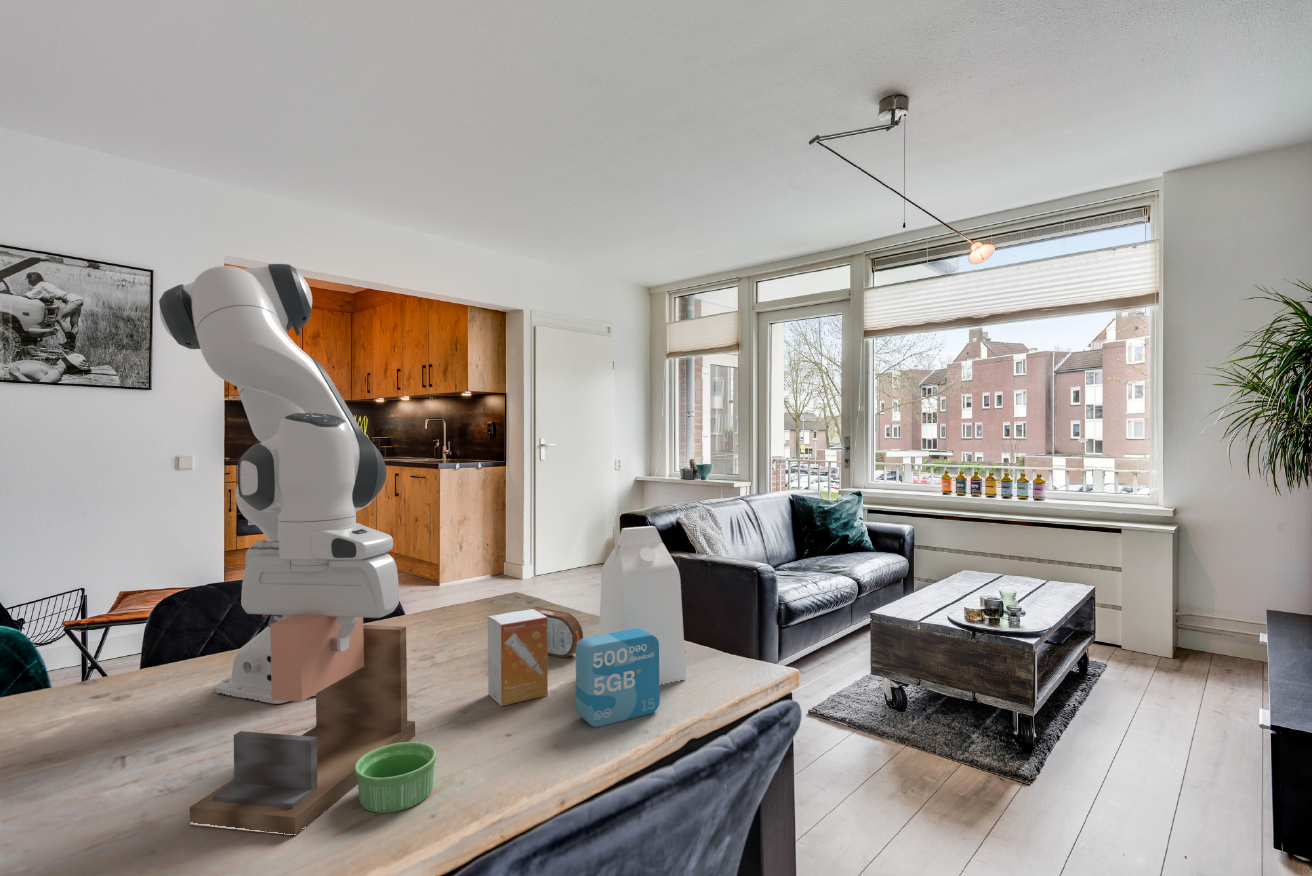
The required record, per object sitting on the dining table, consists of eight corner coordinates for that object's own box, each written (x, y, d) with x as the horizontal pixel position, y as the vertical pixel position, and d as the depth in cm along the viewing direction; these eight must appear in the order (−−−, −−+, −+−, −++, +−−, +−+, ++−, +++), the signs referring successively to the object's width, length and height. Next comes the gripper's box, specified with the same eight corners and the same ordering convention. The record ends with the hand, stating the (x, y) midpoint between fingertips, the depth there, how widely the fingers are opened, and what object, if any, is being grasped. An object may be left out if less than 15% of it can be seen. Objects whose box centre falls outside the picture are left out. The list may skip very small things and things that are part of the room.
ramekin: (446, 775, 83) (445, 740, 83) (422, 816, 74) (422, 777, 74) (373, 777, 83) (373, 742, 83) (341, 818, 74) (340, 779, 74)
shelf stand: (189, 825, 73) (187, 679, 73) (332, 729, 96) (331, 619, 96) (295, 836, 71) (293, 686, 70) (415, 735, 94) (413, 622, 94)
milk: (657, 659, 125) (655, 521, 125) (686, 680, 114) (684, 529, 114) (597, 670, 120) (595, 526, 120) (621, 692, 109) (619, 534, 109)
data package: (588, 730, 95) (587, 646, 95) (575, 718, 99) (574, 638, 99) (660, 712, 101) (659, 633, 101) (646, 702, 105) (645, 626, 105)
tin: (584, 657, 127) (584, 613, 127) (574, 662, 124) (573, 617, 124) (526, 645, 135) (525, 603, 135) (515, 649, 132) (514, 607, 132)
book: (271, 699, 79) (270, 624, 79) (337, 665, 91) (336, 599, 91) (301, 701, 78) (300, 625, 78) (364, 666, 90) (362, 599, 90)
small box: (501, 707, 104) (500, 624, 103) (487, 694, 109) (486, 615, 109) (549, 696, 108) (548, 616, 108) (533, 684, 113) (532, 607, 113)
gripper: (227, 544, 83) (229, 654, 83) (375, 545, 79) (378, 661, 79) (265, 536, 89) (267, 639, 89) (404, 537, 86) (406, 644, 86)
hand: (320, 649), depth 84 cm, fingers closed on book, 4 cm apart
